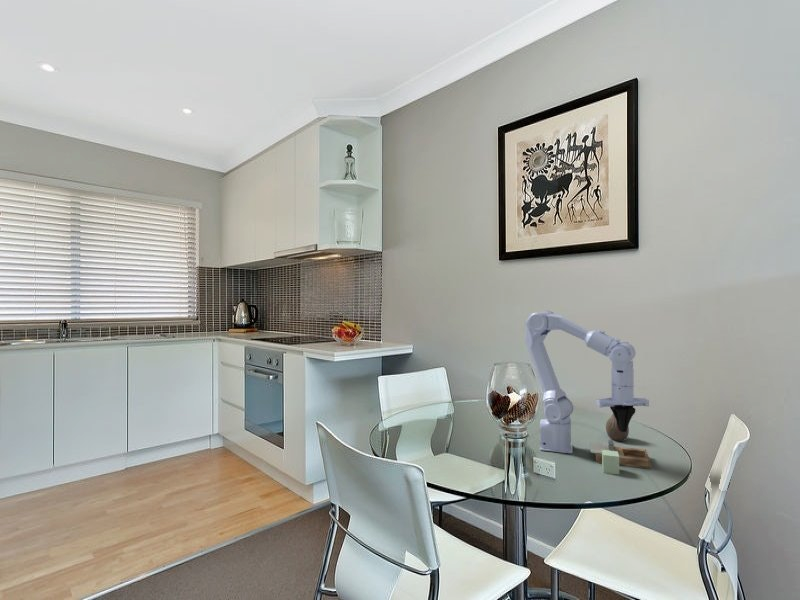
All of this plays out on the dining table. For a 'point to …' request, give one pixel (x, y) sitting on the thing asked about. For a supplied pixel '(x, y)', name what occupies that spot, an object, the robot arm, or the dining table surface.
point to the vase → (615, 430)
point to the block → (610, 462)
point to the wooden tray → (630, 457)
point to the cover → (601, 446)
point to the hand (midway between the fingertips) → (622, 430)
